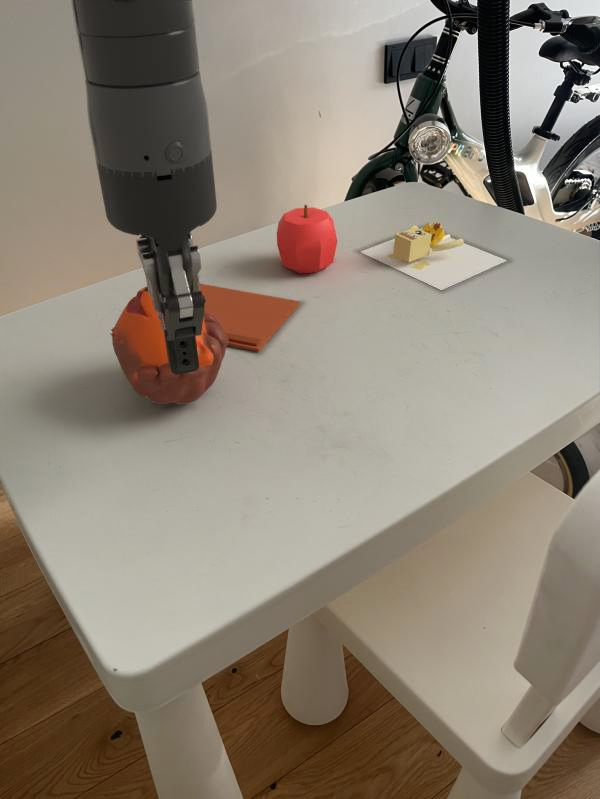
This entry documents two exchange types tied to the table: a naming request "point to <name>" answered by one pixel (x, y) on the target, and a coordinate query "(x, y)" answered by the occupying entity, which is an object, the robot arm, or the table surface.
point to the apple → (306, 239)
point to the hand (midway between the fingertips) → (184, 368)
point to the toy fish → (164, 354)
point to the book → (247, 315)
